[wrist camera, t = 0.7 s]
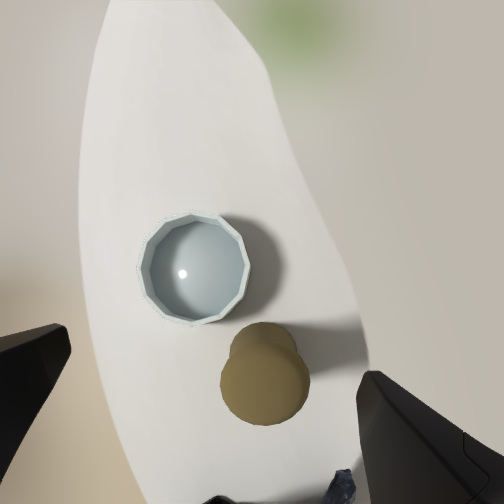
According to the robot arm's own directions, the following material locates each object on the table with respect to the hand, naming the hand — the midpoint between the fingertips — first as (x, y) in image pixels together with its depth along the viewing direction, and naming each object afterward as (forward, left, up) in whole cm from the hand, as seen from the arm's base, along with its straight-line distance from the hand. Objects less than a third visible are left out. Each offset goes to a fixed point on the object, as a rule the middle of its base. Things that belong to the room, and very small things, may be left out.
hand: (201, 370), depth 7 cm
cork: (-1, -3, -18) cm, 19 cm away
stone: (-9, -20, -18) cm, 29 cm away
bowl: (+1, +6, -18) cm, 19 cm away
